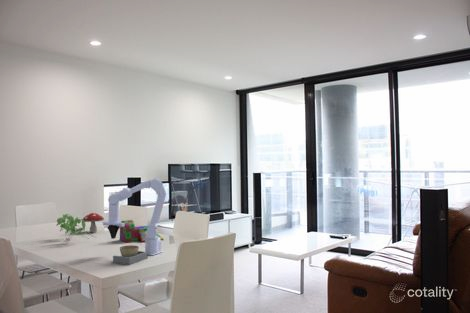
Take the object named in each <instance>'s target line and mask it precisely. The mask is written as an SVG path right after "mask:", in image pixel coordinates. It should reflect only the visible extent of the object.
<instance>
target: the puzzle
mask: <svg viewBox="0 0 470 313" xmlns="http://www.w3.org/2000/svg"><path fill="white" fill-rule="evenodd" d="M120 222H121V223H125V226H124V227H121V226H120V228H119V241H121V242H123V243H124V244H127V243H136V242H140V243H142V244H143V243H145V239H146V237H147V236H146V231H147V228H148V227H149V226H148V225H140V226H135V222H134V220H132V219H130V220H129V219H128V220H127V219H126V220H122V221H120ZM157 237H159V238H160V239H161V241H164V238H163V237H162V236H161V235H160V234H159V233H157Z"/></svg>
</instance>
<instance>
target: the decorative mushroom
mask: <svg viewBox="0 0 470 313" xmlns="http://www.w3.org/2000/svg"><path fill="white" fill-rule="evenodd" d="M81 219H82V220H83V219H84V221H85V223H90V227H89V233H96V232H97V231H98V230H97V229H98V227H97V224H96V222H103V221H105V219H104V217H103V216H102V215H100V214H98V213H95V212H90V213H89V214H87V215H85V216H84V217H83V218H81ZM82 220H81V221H82Z"/></svg>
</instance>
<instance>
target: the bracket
mask: <svg viewBox="0 0 470 313" xmlns="http://www.w3.org/2000/svg"><path fill="white" fill-rule="evenodd" d="M147 259H148V255H147V252H145V251H141V250H138V253H137V255H135V256H132V257H122V255H113V256H112V263H113V264H114V263H115V264H120V265H122V264H123V265H129V266H130V265H133V264H135V263H136V264H137V263H139V262H141V261H144V260H147Z"/></svg>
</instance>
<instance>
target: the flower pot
mask: <svg viewBox="0 0 470 313" xmlns="http://www.w3.org/2000/svg"><path fill="white" fill-rule="evenodd" d="M139 248H140V247H139V246H138V245H133V244H132V245H131V244H130V245H128V244H127V245H123V246H120V247H119V252H120V256H122V257H132V256H135V255H137V253H138V251H139V250H140V249H139Z"/></svg>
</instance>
